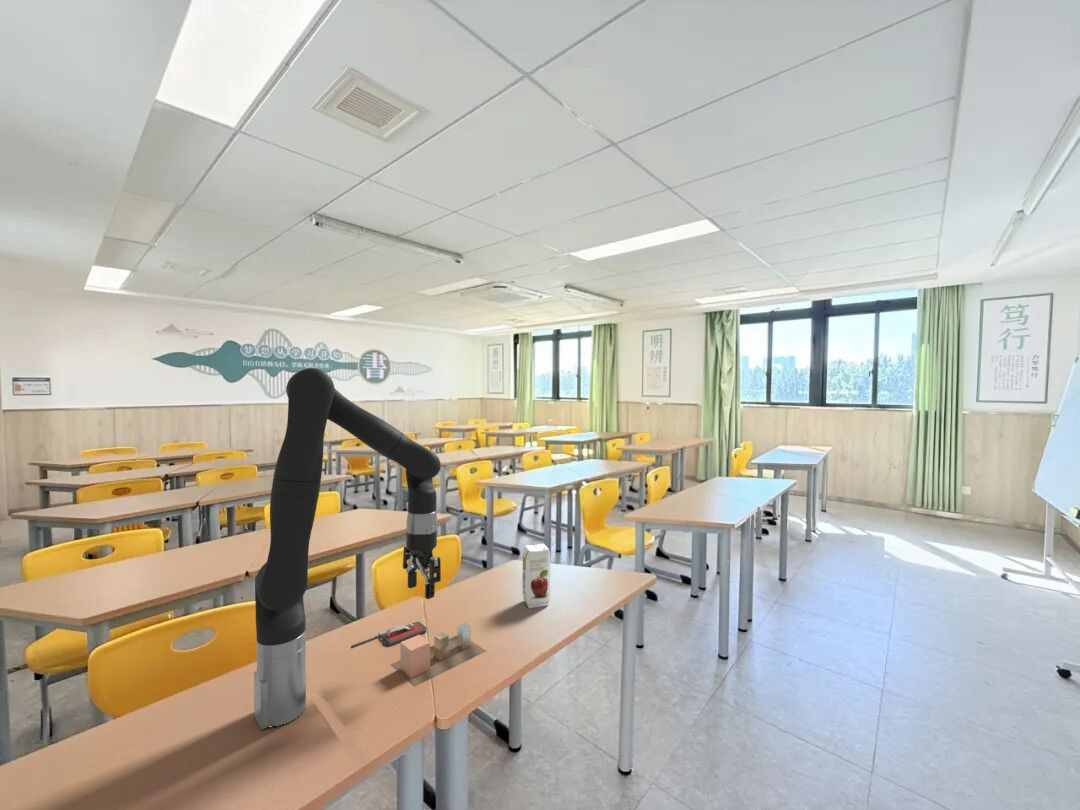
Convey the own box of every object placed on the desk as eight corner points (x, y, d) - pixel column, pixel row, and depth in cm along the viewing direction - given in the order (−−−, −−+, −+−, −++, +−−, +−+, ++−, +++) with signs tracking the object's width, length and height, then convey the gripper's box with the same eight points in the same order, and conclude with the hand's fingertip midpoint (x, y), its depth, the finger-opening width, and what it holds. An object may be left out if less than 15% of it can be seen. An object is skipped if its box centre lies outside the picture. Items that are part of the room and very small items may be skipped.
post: (462, 650, 119) (462, 629, 119) (457, 646, 121) (457, 626, 121) (470, 646, 121) (470, 626, 121) (465, 642, 123) (465, 622, 123)
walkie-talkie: (417, 626, 135) (349, 650, 122) (417, 611, 135) (349, 634, 122) (431, 637, 129) (361, 665, 115) (431, 622, 129) (361, 647, 115)
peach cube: (410, 678, 107) (410, 650, 107) (400, 668, 111) (400, 642, 111) (430, 669, 111) (430, 642, 111) (419, 660, 114) (419, 634, 114)
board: (414, 692, 104) (414, 663, 104) (390, 670, 112) (390, 642, 112) (486, 656, 119) (486, 630, 119) (460, 639, 127) (460, 614, 127)
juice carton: (520, 600, 152) (521, 544, 152) (544, 596, 155) (545, 542, 154) (526, 610, 145) (527, 552, 144) (552, 606, 147) (552, 549, 147)
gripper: (394, 525, 116) (393, 588, 116) (423, 538, 106) (422, 606, 106) (420, 520, 121) (419, 580, 121) (450, 532, 111) (449, 597, 111)
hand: (420, 592), depth 113 cm, fingers open, 8 cm apart
